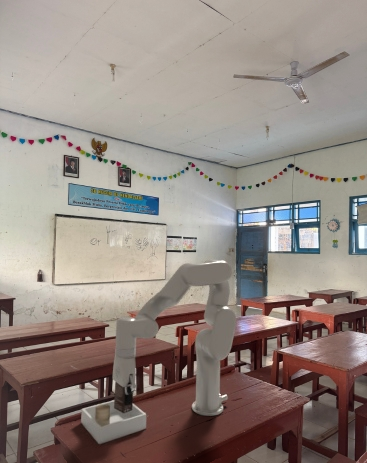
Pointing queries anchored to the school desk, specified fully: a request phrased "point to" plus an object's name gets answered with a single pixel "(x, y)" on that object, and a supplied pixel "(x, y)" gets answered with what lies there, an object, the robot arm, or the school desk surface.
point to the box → (121, 399)
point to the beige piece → (102, 414)
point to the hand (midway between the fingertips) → (123, 400)
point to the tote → (113, 423)
